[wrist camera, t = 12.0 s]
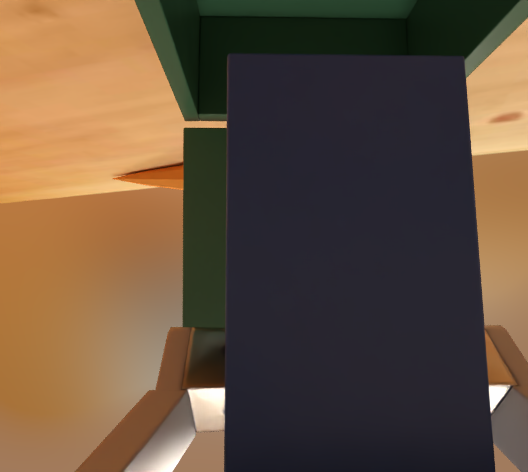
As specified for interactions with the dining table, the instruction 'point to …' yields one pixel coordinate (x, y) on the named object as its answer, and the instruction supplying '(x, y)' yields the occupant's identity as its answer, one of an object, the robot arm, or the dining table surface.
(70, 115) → the dining table surface
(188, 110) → the box
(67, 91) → the dining table surface
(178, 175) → the carrot
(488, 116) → the dining table surface
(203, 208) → the lunchbox lid
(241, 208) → the juice carton
